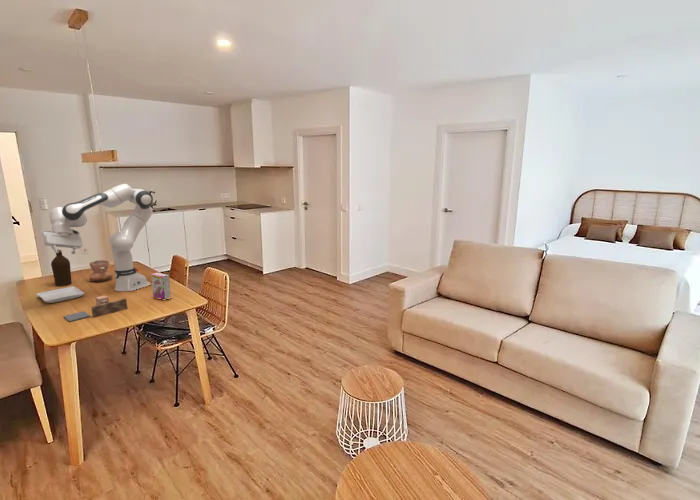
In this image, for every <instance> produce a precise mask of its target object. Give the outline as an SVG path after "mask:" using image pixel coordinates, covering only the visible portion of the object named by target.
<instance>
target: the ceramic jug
mask: <svg viewBox="0 0 700 500" xmlns="http://www.w3.org/2000/svg"><path fill="white" fill-rule="evenodd" d="M109 265H110V261H109V260H105V259H101V260H99V259H98V260H93V261H90V262H89V266H90V269H91V270H92V271H93V272H92V273H91V274H90V275H89V277H88V279H89V280H90V281H91V282H95V283H96V282H97V283H98V282H99V283H100V282H102V283H103V282H106V281H108V280H111V279H112V278H113V273H111V272H110V271H108V268H109Z"/></svg>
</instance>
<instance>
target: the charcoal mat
mask: <svg viewBox="0 0 700 500" xmlns="http://www.w3.org/2000/svg"><path fill="white" fill-rule="evenodd" d="M63 318H64V320H66V321H67V322H69V323H72V322H75V321H81V320H83V319H87V318H91V315H90V314H88V313H87V312H86V311H84V310H83V311H79V312H74V313H72V314H67V315H63Z"/></svg>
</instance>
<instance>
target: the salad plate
mask: <svg viewBox="0 0 700 500" xmlns="http://www.w3.org/2000/svg"><path fill="white" fill-rule="evenodd" d="M84 295H85V292H84V291H83V290H81V289H79V288H78V287H77V286H67V287H62V288H57V289H53V290H46V291H43V292H38V293H36V296H37V297H38V298H41V300H43V302H44V303H48V304H54V303H58V302H63V301H64V302H65V301H68V300H73V299H77V298H80V297H82V296H84Z"/></svg>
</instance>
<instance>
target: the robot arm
mask: <svg viewBox="0 0 700 500" xmlns="http://www.w3.org/2000/svg"><path fill="white" fill-rule="evenodd" d="M153 200H154V198H153V195H152V194H151V193H150V192H149V191H147V190H145V189H142V188H138V187H132V186H130V185H129V184H127V183H122V184H118V185H116V186H113V187H112V188H110V189H108V190H104V192H99V193H98V192H97V193H95V194H93V195H91V196H89V197H86V198H84V199H81V200H79V201H74V202H71V203H66V205H64V206H56V207H54V208H52V209H51V210H50V211H49V219H50V224H51V230H44V231H43V232H42V235H43V238H42V239H43V245H44V246H46V247H51V249H53V252H54V254H56V253H59V250H60V249H58V248H66V249H67V248H69V249H72V251H71V252H70V253H71V255H76V254H77V252H76V251H77V249H81V248H82V247H83V243H84V242H83V239H82V236H80V235H81V234H80V232H79V230H76V229H73V228H80V227H84V226H85V225H86V223H87V222H88V218H87V216H86V214H85V212H86V211H87V210H90V209H92V208H94V207H96V206H101V205H102V206H104V207H106V208H112V209H113V208H115V207H118V206H120V205H121V204H123V203H124V202H127V201H129V202H130V203H132V204H134V205H135V208H134V209H133V211H132V212H131V213H130V214H129V216H128V217H127V218H126V220H125V221H124V222H123V225H122V228H121V229H120V231H117V232H113V233H112V234H111V235H110V236H109V244H110V248H111V252H112V257H113V264H114V278H115V286H114V290H115V291H116V292H133V290H134V291H137V290H140V289H139V288H141V289H143V288H142V287H144V288H146V287H145V286H147V285H150V284H151V285H152V282H150V281H148V279H147V278H146V276H145V275H143V274H141V273H139V271H140V268H138V267H134V261H133V256H132V253H131V249H133V247H134V243H135V242H136V239H137V238H138V235H139V233H141V231H142V229H143V228H144V227H145V226H146V224H147V223H148V221H149V220H150V218H151V216H152V215H153V212H154V210H153V207H152V204H153ZM149 283H150V284H149ZM147 287H148V286H147ZM136 289H137V290H136Z"/></svg>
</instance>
